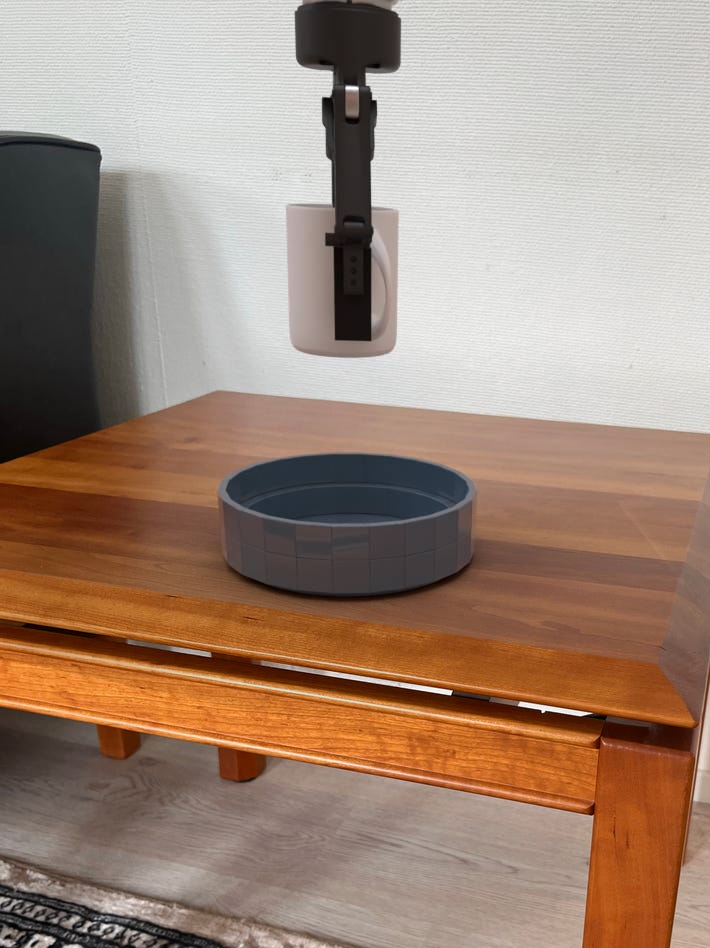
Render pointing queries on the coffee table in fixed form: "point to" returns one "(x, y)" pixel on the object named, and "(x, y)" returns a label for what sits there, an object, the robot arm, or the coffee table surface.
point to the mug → (316, 282)
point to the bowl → (347, 522)
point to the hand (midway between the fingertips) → (350, 328)
